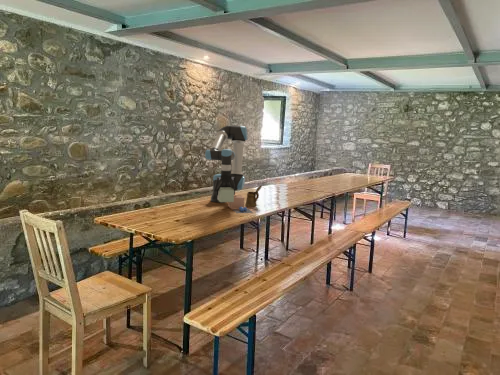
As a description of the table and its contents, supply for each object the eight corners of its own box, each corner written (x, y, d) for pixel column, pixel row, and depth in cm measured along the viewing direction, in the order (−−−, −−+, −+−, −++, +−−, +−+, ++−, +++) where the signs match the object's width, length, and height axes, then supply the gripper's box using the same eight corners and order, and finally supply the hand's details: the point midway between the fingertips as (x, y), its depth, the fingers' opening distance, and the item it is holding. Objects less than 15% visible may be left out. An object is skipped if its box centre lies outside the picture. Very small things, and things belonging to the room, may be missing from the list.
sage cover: (217, 199, 285) (217, 187, 284) (230, 198, 288) (230, 187, 287) (220, 202, 276) (220, 190, 274) (233, 201, 279) (234, 189, 277)
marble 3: (242, 210, 285) (242, 206, 285) (246, 210, 286) (246, 206, 285) (243, 211, 282) (243, 207, 282) (247, 211, 283) (247, 207, 283)
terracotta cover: (228, 206, 299) (228, 195, 297) (240, 206, 302) (240, 195, 300) (231, 209, 289) (231, 198, 288) (243, 209, 292) (244, 197, 290)
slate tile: (232, 209, 288) (232, 209, 288) (248, 209, 291) (248, 209, 291) (236, 213, 276) (236, 213, 275) (253, 213, 279) (253, 212, 279)
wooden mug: (257, 208, 298) (258, 185, 296) (243, 205, 305) (244, 183, 302) (263, 206, 306) (264, 184, 303) (248, 204, 313) (249, 182, 310)
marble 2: (239, 211, 283) (239, 207, 282) (243, 211, 283) (243, 207, 283) (240, 212, 280) (240, 208, 279) (244, 211, 281) (244, 208, 280)
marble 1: (238, 210, 286) (238, 206, 285) (242, 210, 287) (242, 206, 286) (239, 211, 283) (239, 207, 282) (243, 211, 284) (243, 207, 283)
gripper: (211, 170, 271) (211, 200, 275) (242, 170, 278) (241, 200, 282) (210, 169, 278) (209, 198, 282) (239, 169, 285) (238, 197, 289)
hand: (225, 199), depth 282 cm, fingers closed on sage cover, 10 cm apart
